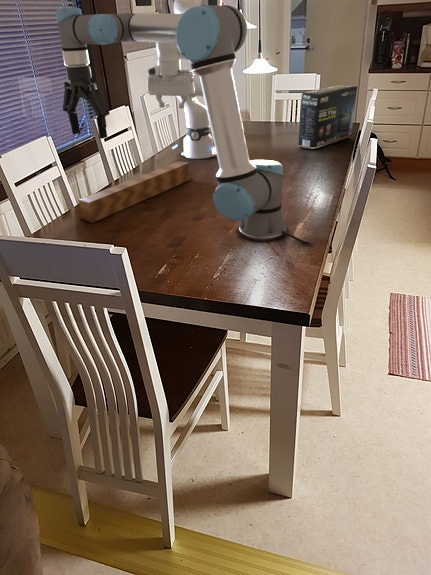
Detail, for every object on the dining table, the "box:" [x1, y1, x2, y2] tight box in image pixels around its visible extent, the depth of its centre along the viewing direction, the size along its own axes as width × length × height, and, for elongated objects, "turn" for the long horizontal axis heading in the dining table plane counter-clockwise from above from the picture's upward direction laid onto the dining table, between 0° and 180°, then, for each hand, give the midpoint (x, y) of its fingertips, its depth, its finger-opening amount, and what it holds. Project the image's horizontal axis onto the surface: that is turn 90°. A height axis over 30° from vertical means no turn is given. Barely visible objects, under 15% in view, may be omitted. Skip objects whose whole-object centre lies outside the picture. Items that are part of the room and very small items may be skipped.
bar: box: [78, 160, 191, 224], centre depth 180 cm, size 55×6×7 cm, turn 144°
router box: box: [297, 84, 358, 151], centre depth 238 cm, size 36×11×27 cm, turn 134°
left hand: (172, 107), depth 184 cm, fingers open, 8 cm apart
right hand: (89, 135), depth 154 cm, fingers open, 13 cm apart
